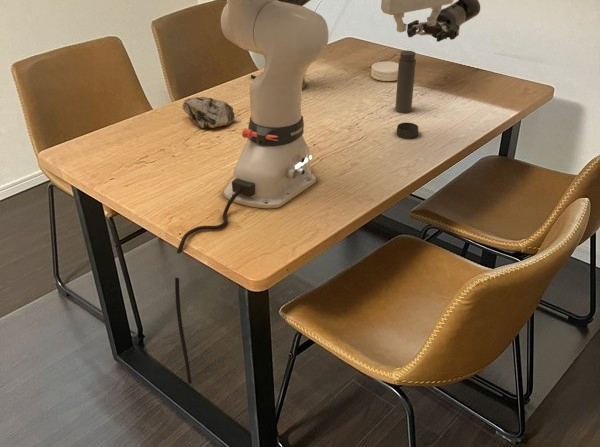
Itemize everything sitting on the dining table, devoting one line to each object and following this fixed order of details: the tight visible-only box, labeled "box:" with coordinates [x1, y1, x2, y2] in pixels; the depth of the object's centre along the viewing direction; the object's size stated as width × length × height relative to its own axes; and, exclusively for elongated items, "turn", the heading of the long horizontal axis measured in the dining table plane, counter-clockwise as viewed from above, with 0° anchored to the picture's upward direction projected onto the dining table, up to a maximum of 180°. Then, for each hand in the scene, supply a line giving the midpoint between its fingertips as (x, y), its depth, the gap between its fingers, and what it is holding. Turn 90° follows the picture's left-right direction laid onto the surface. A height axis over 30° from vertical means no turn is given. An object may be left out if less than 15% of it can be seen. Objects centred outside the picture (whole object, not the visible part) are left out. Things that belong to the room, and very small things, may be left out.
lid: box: [396, 122, 419, 140], centre depth 162 cm, size 6×6×2 cm
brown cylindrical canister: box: [394, 50, 416, 114], centre depth 172 cm, size 4×4×16 cm
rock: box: [181, 96, 236, 129], centre depth 170 cm, size 15×10×7 cm
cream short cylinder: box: [370, 61, 399, 82], centre depth 199 cm, size 10×10×4 cm
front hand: (416, 28), depth 148 cm, fingers open, 8 cm apart
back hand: (423, 35), depth 174 cm, fingers open, 8 cm apart
